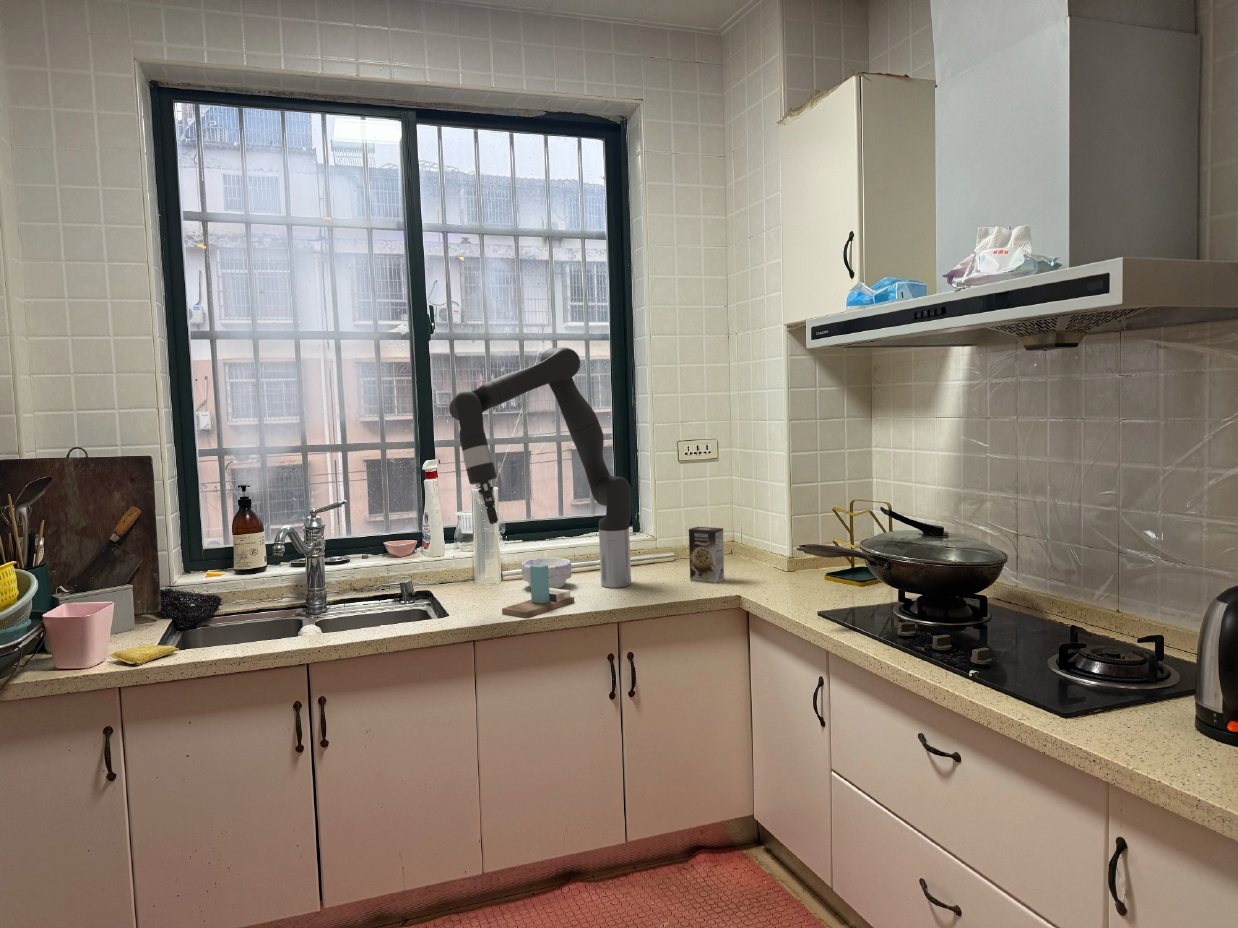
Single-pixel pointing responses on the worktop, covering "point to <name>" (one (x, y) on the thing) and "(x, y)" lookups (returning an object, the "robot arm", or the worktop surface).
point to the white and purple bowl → (549, 570)
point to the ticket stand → (532, 608)
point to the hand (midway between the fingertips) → (494, 522)
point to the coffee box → (706, 554)
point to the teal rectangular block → (539, 583)
